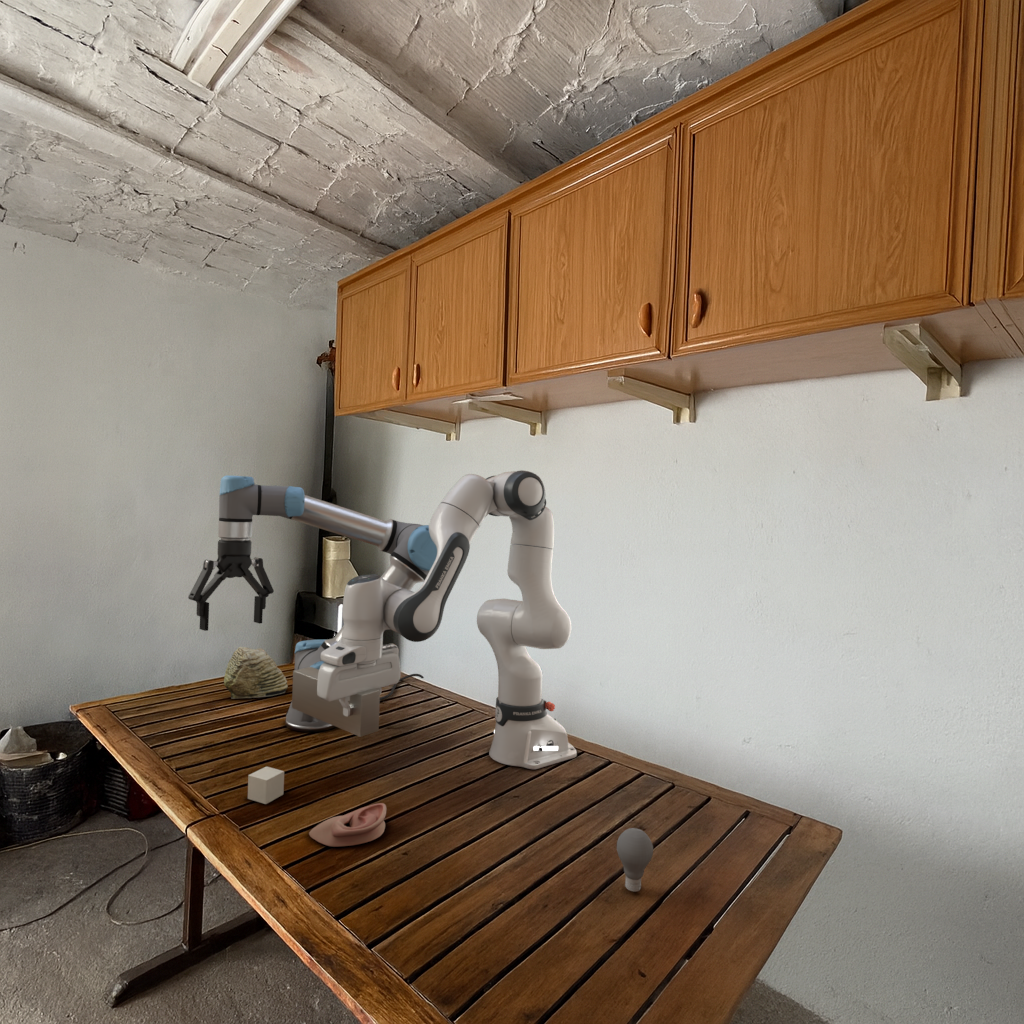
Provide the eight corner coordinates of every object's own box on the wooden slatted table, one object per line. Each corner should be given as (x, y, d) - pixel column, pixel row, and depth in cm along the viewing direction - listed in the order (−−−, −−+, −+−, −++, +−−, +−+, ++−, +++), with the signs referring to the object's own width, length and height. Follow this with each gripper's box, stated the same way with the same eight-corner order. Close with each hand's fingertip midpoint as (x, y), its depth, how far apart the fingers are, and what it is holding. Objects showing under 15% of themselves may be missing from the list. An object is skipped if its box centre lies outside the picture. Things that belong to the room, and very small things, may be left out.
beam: (310, 703, 155) (311, 666, 155) (378, 730, 139) (380, 690, 139) (291, 708, 151) (292, 670, 151) (360, 737, 135) (361, 695, 135)
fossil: (219, 695, 195) (221, 647, 195) (279, 686, 207) (281, 640, 207) (229, 703, 188) (231, 653, 188) (290, 693, 201) (292, 646, 200)
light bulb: (610, 878, 109) (613, 821, 108) (645, 878, 109) (647, 821, 109) (619, 901, 103) (622, 840, 103) (655, 900, 103) (658, 839, 103)
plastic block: (265, 789, 136) (266, 766, 136) (283, 794, 134) (284, 771, 134) (247, 798, 131) (248, 775, 131) (265, 804, 129) (266, 780, 129)
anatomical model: (301, 820, 116) (331, 792, 127) (300, 842, 116) (330, 812, 127) (368, 831, 113) (393, 801, 124) (368, 853, 113) (392, 821, 124)
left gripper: (273, 537, 166) (270, 617, 166) (174, 539, 147) (171, 630, 147) (289, 539, 161) (286, 622, 162) (189, 541, 142) (186, 635, 142)
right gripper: (389, 639, 149) (387, 697, 149) (313, 654, 133) (311, 719, 133) (407, 644, 145) (405, 704, 145) (331, 660, 129) (329, 727, 129)
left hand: (231, 626), depth 154 cm, fingers open, 13 cm apart
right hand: (360, 711), depth 139 cm, fingers closed on beam, 5 cm apart
